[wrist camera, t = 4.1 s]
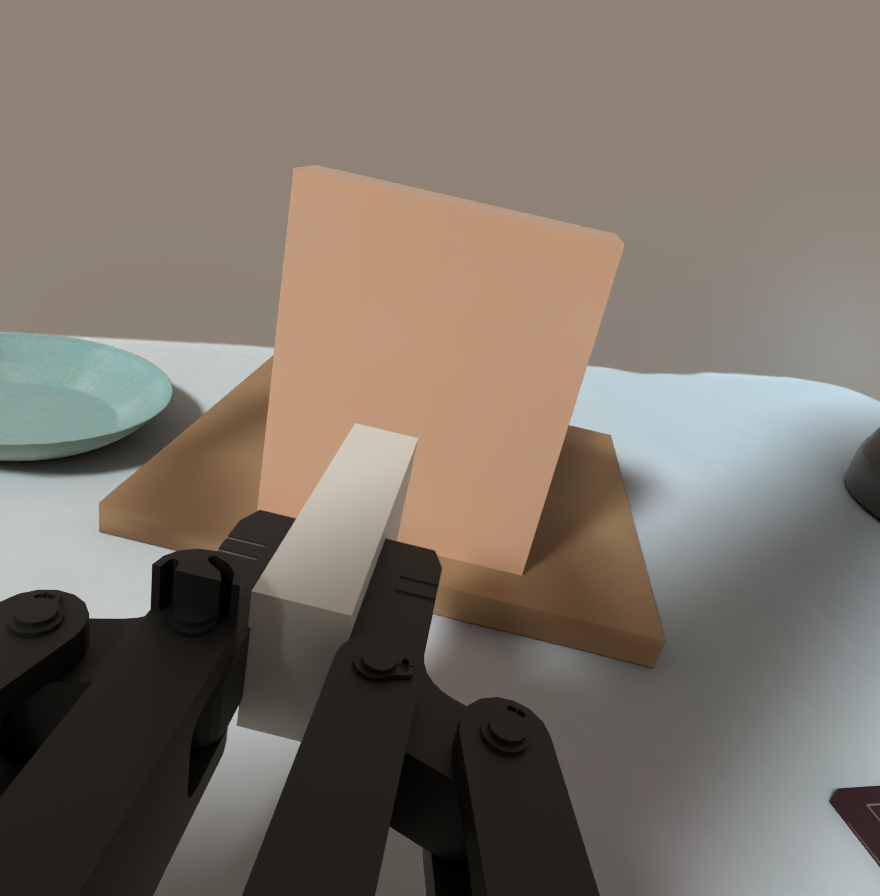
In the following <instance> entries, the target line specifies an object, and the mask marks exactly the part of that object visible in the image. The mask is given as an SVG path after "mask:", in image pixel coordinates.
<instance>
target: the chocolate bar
mask: <svg viewBox="0 0 880 896" xmlns="http://www.w3.org/2000/svg"><path fill="white" fill-rule="evenodd" d="M829 802H830V804H831V805H832V806H833V807H834V809H835V810H836V811H837V813H838V814H839V815H840V816H841V818H842V819H843V820H844V822H845V823H846V824H847V825H848V827H849V828H850V829H851V831H852V832H853V833H854V834H855V836H856V837H857V838H858V840H859V841H860V842H861V843H862V845H863V846H864V847H865V849H866V850H867V851H868V852H869V854H870V855H871V856H872V858H873V859H874V860H875V861H876V863H877V864H878V865H879V867H880V786H869V787H855V788H840V789H837V790H836V792H835V793H834V795H833V796H832V798H831V799H830V801H829Z"/></svg>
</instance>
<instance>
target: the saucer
mask: <svg viewBox="0 0 880 896" xmlns="http://www.w3.org/2000/svg"><path fill="white" fill-rule="evenodd" d="M172 395H173V387H172V384H171V382H170V380H169V378H168V377H167V375H166V374H165V373H164V372H163V371H161V370H160V369H159V368H158V367H157V366H155V365H154V364H153V363H151V362H149V361H147V360H146V359H144V358H142V357H140V356H137V355H135V354H133V353H130V352H127V351H124V350H122V349H118V348H115V347H112V346H108V345H104V344H100V343H96V342H92V341H87V340H82V339H76V338H70V337H64V336H55V335H44V334H33V333H0V461H38V460H49V459H57V458H63V457H68V456H73V455H77V454H81V453H85V452H88V451H91V450H95V449H98V448H101V447H103V446H106V445H108V444H110V443H113V442H115V441H117V440H119V439H122V438H123V437H125V436H127V435H129V434H131V433H133V432H134V431H136V430H137V429H139V428H141V427H142V426H144V425H145V424H146V423H148V422H149V421H151V420H152V419H153V418H154V417H156V416H157V415H158V414H160V412H162V411H163V410H164V409H165V408H166V407H167V406H168V404H169V403H170V401H171V398H172Z"/></svg>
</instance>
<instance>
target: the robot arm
mask: <svg viewBox="0 0 880 896" xmlns="http://www.w3.org/2000/svg"><path fill="white" fill-rule="evenodd" d="M417 442H418V438H415V437H411V436H407V435H403V434H399V433H395V432H390V431H386V430H382V429H378V428H374V427H370V426H365V425H361V424H357V423H355V424H354V426H353V428H352V429H351V431H350V433H349V434H348V436H347V437H346V439H345V441H344V442H343V444H342V445H341V447H340V449H339V450H338V452H337V454H336V455H335V457H334V458H333V460H332V462H331V463H330V465H329V467H328V468H327V470H326V471H325V473H324V475H323V476H322V478H321V480H320V481H319V483H318V484H317V486H316V488H315V489H314V491H313V492H312V494H311V496H310V497H309V499H308V501H307V502H306V504H305V505H304V507H303V509H302V510H301V512H300V514H299V515H298V517H297V518H292V517H288V516H284V515H280V514H276V513H271V512H267V511H263V510H258V511H256V512H255V513H253V514H251V515H249V516H247V517H245V518H243V519H241V520H240V521H239V522H238V523H237V524H236V526H235V527H234V528H233V530H232V531H231V532H230V534H229V535H228V538H227V539H225V540H224V542H223V543H222V544H221V545H220V547H219V549H218V551H213V550H205V549H188V550H179V551H176V552H173V553H171V554H168V555H165V556H163V557H162V558H160V559H159V560H158V561H156V562H155V563H154V564H152V588H151V610H150V611H149V612H148V613H147V615H146V616H144V617H139V618H128V619H89V612H88V610H87V607H86V604H85V602H83V601H82V600H81V599H79V598H78V597H77V596H75V595H74V594H70V593H66V592H63V591H59V590H35V591H30V592H25V593H20V594H17V595H15V596H13V597H10V598H8V599H6V600H3V601H1V602H0V896H153V894H154V892H155V890H156V888H157V886H158V884H159V882H160V880H161V878H162V876H163V874H164V872H165V870H166V868H167V866H168V864H169V862H170V860H171V858H172V856H173V854H174V852H175V850H176V848H177V846H178V844H179V842H180V840H181V837H182V835H183V833H184V831H185V829H186V827H187V825H188V823H189V821H190V819H191V817H192V815H193V813H194V811H195V809H196V807H197V805H198V803H199V801H200V799H201V797H202V795H203V793H204V791H205V789H206V787H207V785H208V783H209V781H210V779H211V777H212V775H213V773H214V771H215V769H216V767H217V765H218V763H219V761H220V759H221V757H222V755H223V752H224V748H225V744H226V739H227V729H228V725H229V723H230V721H231V719H232V717H233V715H234V713H235V711H236V709H237V707H238V705H239V710H238V720H237V726H241V727H245V728H249V729H253V730H257V731H260V732H264V733H268V734H272V735H276V736H280V737H284V738H288V739H292V740H296V741H300V742H301V744H300V747H299V749H298V752H297V754H296V757H295V760H294V762H293V765H292V767H291V770H290V773H289V775H288V778H287V780H286V783H285V786H284V788H283V791H282V793H281V796H280V799H279V801H278V804H277V806H276V809H275V812H274V814H273V817H272V819H271V822H270V825H269V827H268V830H267V832H266V835H265V838H264V840H263V843H262V845H261V848H260V851H259V853H258V856H257V858H256V861H255V864H254V866H253V869H252V871H251V874H250V876H249V879H248V882H247V884H246V887H245V889H244V892H243V895H242V896H375V892H376V888H377V883H378V878H379V873H380V869H381V864H382V859H383V854H384V850H385V845H386V840H387V835H388V831H389V826H390V827H391V828H393V829H394V830H396V831H398V832H399V833H401V834H402V835H404V836H405V837H407V838H409V839H410V840H412V841H413V842H415V843H416V844H418V845H420V846H421V847H423V863H424V874H425V884H426V895H427V896H600V895H599V892H598V888H597V885H596V882H595V879H594V875H593V872H592V869H591V866H590V862H589V859H588V856H587V853H586V850H585V846H584V843H583V840H582V837H581V833H580V830H579V827H578V824H577V821H576V817H575V814H574V811H573V808H572V804H571V801H570V798H569V795H568V791H567V788H566V785H565V782H564V779H563V775H562V772H561V769H560V766H559V762H558V759H557V756H556V753H555V750H554V746H553V743H552V740H551V737H550V735H549V733H548V731H547V729H546V727H545V725H544V723H543V721H541V720H540V719H539V718H538V717H537V716H536V715H535V714H534V713H533V712H532V711H531V710H530V709H528V708H526V707H524V706H523V705H521V704H519V703H517V702H515V701H512V700H507V699H503V698H498V697H493V698H483V699H479V700H477V701H475V702H474V703H472V704H470V705H468V706H465V705H463V704H462V703H460V702H458V701H456V700H454V699H453V698H451V697H450V696H448V695H447V694H445V693H444V692H442V691H441V690H440V689H439V688H438V687H437V686H436V685H435V684H434V683H433V682H432V680H431V679H430V677H429V675H428V674H427V671H426V668H425V665H424V653H425V649H426V644H427V639H428V634H429V629H430V625H431V620H432V615H433V610H434V605H435V600H436V596H437V591H438V586H439V581H440V577H441V572H442V566H441V564H440V561H439V559H438V556H437V554H436V552H435V550H431V549H427V548H423V547H419V546H415V545H411V544H406V543H402V542H398V541H396V540H397V537H398V532H399V527H400V523H401V518H402V513H403V508H404V504H405V499H406V494H407V490H408V485H409V480H410V475H411V471H412V466H413V461H414V456H415V452H416V447H417ZM844 479H845V483H846V486H847V488H848V489H849V491H850V492H851V494H852V495H853V496H854V497H855V498H856V499H857V500H858V501H859V502H860V503H861V504H862V505H863V506H864V507H865V508H866V509H867V510H869V511H870V512H871V513H872V514H874V515H875V516H876V517H878V518H879V519H880V427H879V428H878V429H877V430H876V431H875V432H874V433H873V434H872V435H871V436H870V437H869V438H867V439H866V440H865V441H864V442H863V443H862V445H861V446H860V447H859V449H858V450H857V452H856V454H855V456H854V458H853V460H852V462H851V464H850V466H849V468H848V470H847V472H846V474H845V478H844Z"/></svg>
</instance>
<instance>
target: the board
mask: <svg viewBox="0 0 880 896" xmlns="http://www.w3.org/2000/svg"><path fill="white" fill-rule="evenodd" d="M273 358H274V355H273V356H272V357H271V358H270V359H269V360H267V361H266V362H265V363H264V364H263V365H261V366H260V367H259V368H258V369H257V370H256V371H254V372H253V373H252V374H251V375H250V376H248V377H247V378H246V379H245V380H244V381H243V382H241V383H240V384H239V385H238V386H237V387H235V388H234V389H233V390H232V391H231V392H230V393H228V394H227V395H226V396H225V397H224V398H222V399H221V400H220V401H219V402H218V403H216V404H215V405H214V406H213V407H212V408H211V409H209V410H208V411H207V412H206V413H205V414H203V415H202V416H201V417H200V418H199V419H198V420H196V421H195V422H194V423H193V424H192V425H190V426H189V427H188V428H187V429H186V430H185V431H183V432H182V433H181V434H180V435H179V436H177V437H176V438H175V439H174V440H173V441H172V442H170V443H169V444H168V445H167V446H166V447H164V448H163V449H162V450H161V451H160V452H158V453H157V454H156V455H155V456H154V457H153V458H151V459H150V460H149V461H148V462H147V463H145V464H144V465H143V466H142V467H141V468H140V469H138V470H137V471H136V472H135V473H134V474H132V475H131V476H130V477H129V478H128V479H127V480H125V481H124V482H123V483H122V484H121V485H119V486H118V487H117V488H116V489H115V490H114V491H112V492H111V493H110V494H109V495H108V496H106V497H105V498H104V499H103V500H102V501H100V502H99V532H103V533H108V534H112V535H116V536H120V537H124V538H128V539H132V540H136V541H140V542H144V543H148V544H152V545H156V546H160V547H164V548H169V549H173V550H177V551H179V550H188V549H205V550H213V551H218V549H219V547H220V545H221V544H222V543H223V542H224V540H225V539H227V538H228V535H229V534H230V532H231V531H232V530H233V528H234V527H235V526H236V524H237V523H238V522H239V521H240V520H241V519H243V518H245V517H247V516H249V515H251V514H253V513H255V512H256V511H257V507H258V498H259V488H260V479H261V470H262V460H263V451H264V442H265V432H266V423H267V414H268V405H269V395H270V386H271V377H272V367H273ZM437 556H438V559H439V561H440V564H441V566H442V572H441V577H440V581H439V586H438V591H437V596H436V600H435V605H434V610H433V614H437V615H441V616H445V617H449V618H453V619H457V620H461V621H466V622H470V623H474V624H478V625H482V626H486V627H490V628H494V629H498V630H502V631H506V632H510V633H514V634H518V635H522V636H527V637H531V638H535V639H539V640H543V641H547V642H551V643H555V644H559V645H563V646H567V647H571V648H575V649H579V650H583V651H588V652H592V653H596V654H600V655H604V656H608V657H612V658H616V659H620V660H624V661H628V662H632V663H636V664H640V665H644V666H649V667H654V664H655V662H656V660H657V658H658V655H659V653H660V651H661V649H662V646H663V644H664V642H665V640H664V636H663V632H662V629H661V625H660V621H659V617H658V613H657V609H656V606H655V602H654V598H653V594H652V590H651V587H650V583H649V579H648V575H647V571H646V567H645V564H644V560H643V556H642V552H641V548H640V545H639V541H638V537H637V533H636V529H635V525H634V522H633V518H632V514H631V510H630V506H629V503H628V499H627V495H626V491H625V487H624V483H623V480H622V476H621V472H620V468H619V464H618V461H617V457H616V453H615V449H614V445H613V441H612V438H611V435H608V434H603V433H599V432H595V431H591V430H587V429H582V428H578V427H574V426H570V425H569V426H568V429H567V432H566V435H565V438H564V442H563V445H562V448H561V451H560V455H559V458H558V461H557V464H556V467H555V471H554V474H553V477H552V480H551V484H550V487H549V490H548V493H547V496H546V500H545V503H544V506H543V509H542V513H541V516H540V519H539V522H538V525H537V529H536V532H535V535H534V538H533V542H532V545H531V548H530V551H529V554H528V558H527V561H526V564H525V567H524V571H523V574H522V576H521V575H517V574H512V573H508V572H504V571H500V570H496V569H492V568H488V567H484V566H480V565H476V564H471V563H467V562H463V561H459V560H455V559H451V558H447V557H443V556H439V555H437Z"/></svg>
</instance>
